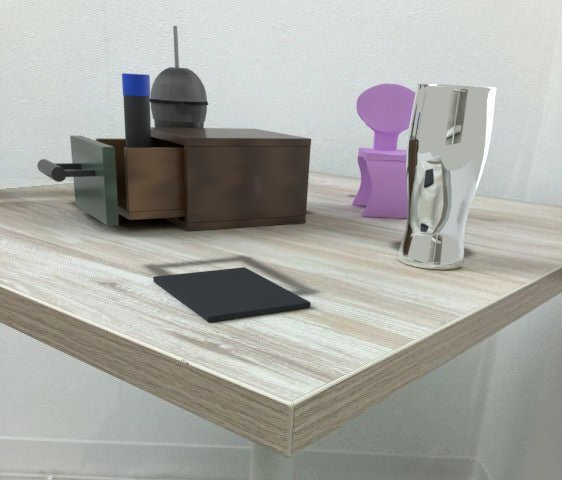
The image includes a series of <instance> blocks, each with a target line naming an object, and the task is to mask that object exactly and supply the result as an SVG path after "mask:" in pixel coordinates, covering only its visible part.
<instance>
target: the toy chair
mask: <svg viewBox="0 0 562 480" xmlns="http://www.w3.org/2000/svg"><path fill="white" fill-rule="evenodd" d="M415 93H416V91H414V90H412V89H410V88H409V87H407V86H404V85H401V84H397V83H380V84H376V85H374V86H371V87H369V88H367V89H365V90H363V92H361V93H360V94H359V96H358V97H357V100H356V106H355V107H356V113H357V115H358V117H359V118H360V119H361V121H362V122H364V124H365V125H366V126H367V127H368V128H369V129H370V130H372V131H373V144H372V148H370V147H358V153H357V164H358V168H359V171H360V183H359V188H358V190H357V193H356V195H355V196H354V199H353V200H352V203H351V205H352V206H365V207H364V210H363V211H362V214H361V217H366V218H390V219H392V218H393V219H407V182H406V149H398V140H399V135H400V134H401V133H403V132H405V131H406V130H407V131H408V130H409V123H410V118H411V112H412V107H413V102H414V98H415Z"/></svg>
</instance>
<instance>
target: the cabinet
mask: <svg viewBox="0 0 562 480" xmlns="http://www.w3.org/2000/svg"><path fill="white" fill-rule="evenodd" d="M151 139H161V140H165V141H168V142H172V143H176V144H180V145H184V192H185V217H174V218H162V219H164V220H166V221H167V222H169V223H171V224H173V225H175V226H177V227H179V228H180V229H183V230H184V231H187V232H194V231H208V230H209V231H210V230H222V229H223V230H224V229H225V230H226V229H238V228H252V227H265V226H281V225H295V224H296V225H297V224H306V222H307V208H308V207H307V206H308V193H309V179H310V177H309V176H310V161H311V146H312V138H310V137H304V136H299V135H294V134H287V133H281V132H275V131H270V130H264V129H259V128H233V127H231V128H230V127H229V128H228V127H227V128H226V127H204V128H167V127H155V126H151Z"/></svg>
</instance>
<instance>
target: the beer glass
mask: <svg viewBox="0 0 562 480" xmlns="http://www.w3.org/2000/svg"><path fill="white" fill-rule="evenodd" d="M496 92H497V87H494V86H480V85H461V84H460V85H459V84H444V83H443V84H441V83H421V82H420V83H419V82H418V83H416V88H415V98H414V102H413V107H412V112H411V118H410V123H409V129H407V137H406V138H407V140H406V148H405V150H406V182H407V218H406V221H405V222H406V223H405V228H404V231H403V232H404V233H403V236H402V239H401V243H400V246H399V249H398V252H397V260H398V261H399V262H400V263H402V264H405V265H407V266H411V267H415V268H419V269H420V268H421V269H425V270H426V269H427V270H437V271H446V270H447V271H448V270H456V269H460V268H462V267H463V266H464V263H465V232H466V225H467V221H468V216H469V213H470V210H471V207H472V204H473V202H474V197H475V196H476V192H477V189H478V187H479V183H480V182H481V177H482V175H483V171H484V168H485V165H486V162H487V157H488V153H489V148H490V143H491V137H492V131H493V122H494V113H495V103H496V102H495V100H496V95H497V93H496Z"/></svg>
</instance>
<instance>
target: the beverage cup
mask: <svg viewBox="0 0 562 480" xmlns="http://www.w3.org/2000/svg"><path fill="white" fill-rule="evenodd" d="M172 31H173V52H174V53H173V54H174V58H173V59H174V67H173V66H171V67H170V66H169V67H166V68H164V69H163V70H162V71H161V72H160V73H158V75H157V76H156V77H155V78H154V81H153V83H152V85H151V87H150V112H151V115H152V119H153V122H154V127H167V128H205V127H204V126H205V122H206V118H207V112H208V106H209V102H208V96H207V90H206V88H205V85H204V83H203V82H202V80H201V78H200V77H199V76H198V74H196V72H194V71H193V70H191V69H189V68H187V67H180V59H179V35H178V25H173V26H172Z"/></svg>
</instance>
